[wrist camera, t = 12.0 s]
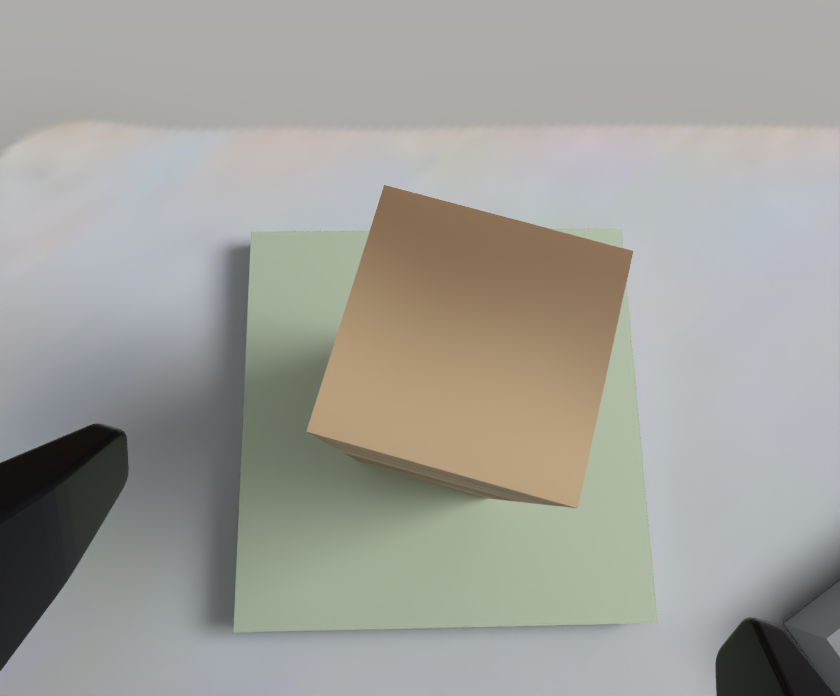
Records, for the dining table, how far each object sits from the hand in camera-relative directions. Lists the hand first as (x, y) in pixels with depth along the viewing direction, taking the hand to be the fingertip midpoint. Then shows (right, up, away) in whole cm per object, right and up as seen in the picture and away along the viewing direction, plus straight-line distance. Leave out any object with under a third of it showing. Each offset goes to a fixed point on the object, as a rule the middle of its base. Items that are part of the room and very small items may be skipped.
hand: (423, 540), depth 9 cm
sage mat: (+1, 0, +11) cm, 11 cm away
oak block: (+1, +1, +10) cm, 10 cm away
